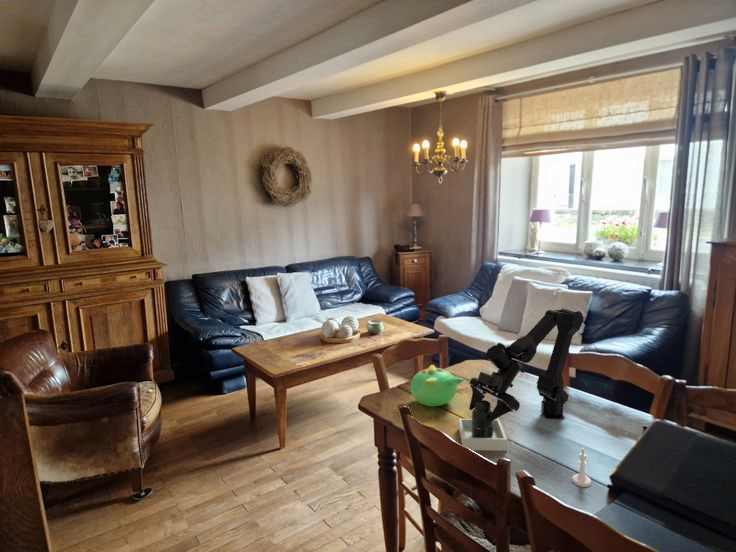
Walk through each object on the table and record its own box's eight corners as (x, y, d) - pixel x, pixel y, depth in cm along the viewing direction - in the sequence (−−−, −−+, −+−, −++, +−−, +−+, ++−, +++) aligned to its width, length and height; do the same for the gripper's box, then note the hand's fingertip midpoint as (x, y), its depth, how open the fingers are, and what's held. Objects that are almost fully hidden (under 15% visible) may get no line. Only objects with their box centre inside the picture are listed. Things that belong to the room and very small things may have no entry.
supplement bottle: (471, 441, 151) (471, 406, 148) (471, 431, 157) (471, 397, 155) (493, 443, 149) (493, 408, 147) (492, 432, 155) (493, 399, 153)
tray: (498, 429, 159) (499, 418, 159) (507, 450, 146) (507, 439, 145) (458, 428, 160) (458, 418, 160) (463, 450, 147) (463, 439, 146)
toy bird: (444, 391, 191) (444, 357, 188) (466, 408, 175) (466, 371, 173) (404, 399, 185) (403, 364, 182) (423, 417, 169) (423, 379, 167)
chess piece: (585, 475, 132) (587, 443, 130) (594, 486, 127) (596, 452, 125) (568, 476, 132) (570, 444, 130) (577, 487, 127) (578, 453, 125)
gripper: (473, 354, 159) (447, 392, 156) (513, 372, 143) (486, 414, 139) (490, 371, 164) (465, 408, 161) (531, 390, 148) (505, 431, 144)
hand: (479, 415), depth 151 cm, fingers open, 9 cm apart
